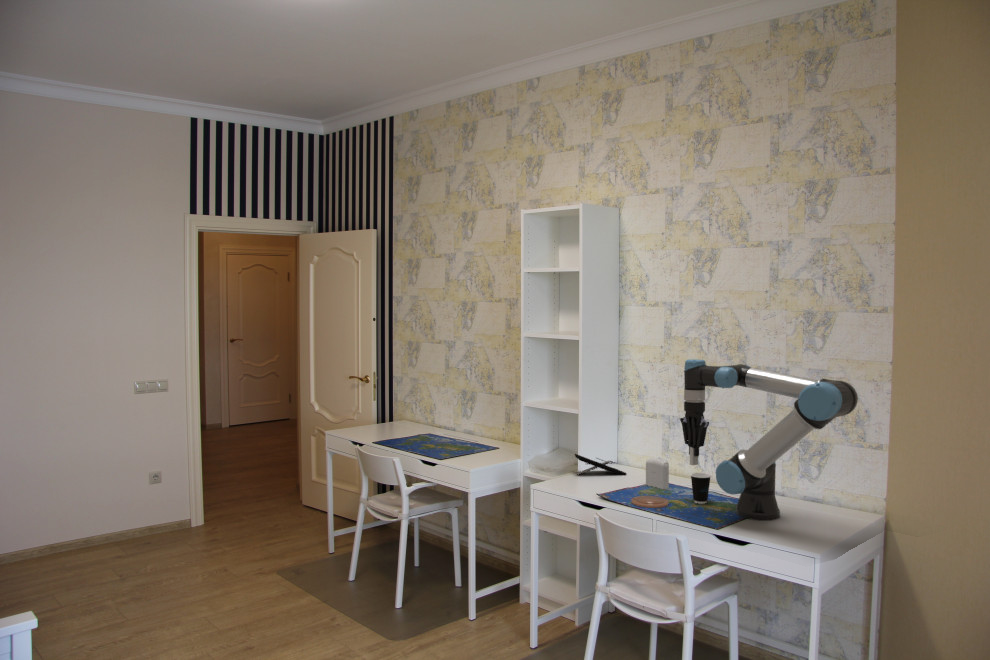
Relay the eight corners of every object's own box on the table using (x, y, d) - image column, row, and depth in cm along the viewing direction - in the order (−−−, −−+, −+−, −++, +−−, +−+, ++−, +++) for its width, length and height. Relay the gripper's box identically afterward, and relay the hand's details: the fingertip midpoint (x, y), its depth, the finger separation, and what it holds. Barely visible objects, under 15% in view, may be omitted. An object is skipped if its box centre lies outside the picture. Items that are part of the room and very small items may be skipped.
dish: (676, 505, 277) (676, 501, 277) (647, 509, 271) (647, 506, 271) (652, 496, 290) (652, 493, 290) (623, 501, 283) (623, 497, 283)
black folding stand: (619, 472, 335) (619, 450, 335) (626, 477, 326) (626, 455, 326) (573, 473, 332) (574, 452, 332) (579, 478, 322) (580, 456, 322)
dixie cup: (706, 506, 276) (706, 478, 276) (686, 503, 281) (687, 475, 280) (713, 502, 282) (714, 474, 282) (694, 498, 287) (694, 471, 287)
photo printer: (644, 486, 308) (644, 457, 307) (650, 484, 310) (650, 455, 310) (663, 490, 300) (664, 461, 300) (670, 489, 303) (670, 459, 302)
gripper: (715, 402, 266) (714, 466, 266) (689, 398, 277) (689, 460, 278) (699, 403, 262) (698, 468, 263) (674, 399, 274) (674, 462, 274)
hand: (693, 464), depth 270 cm, fingers closed
